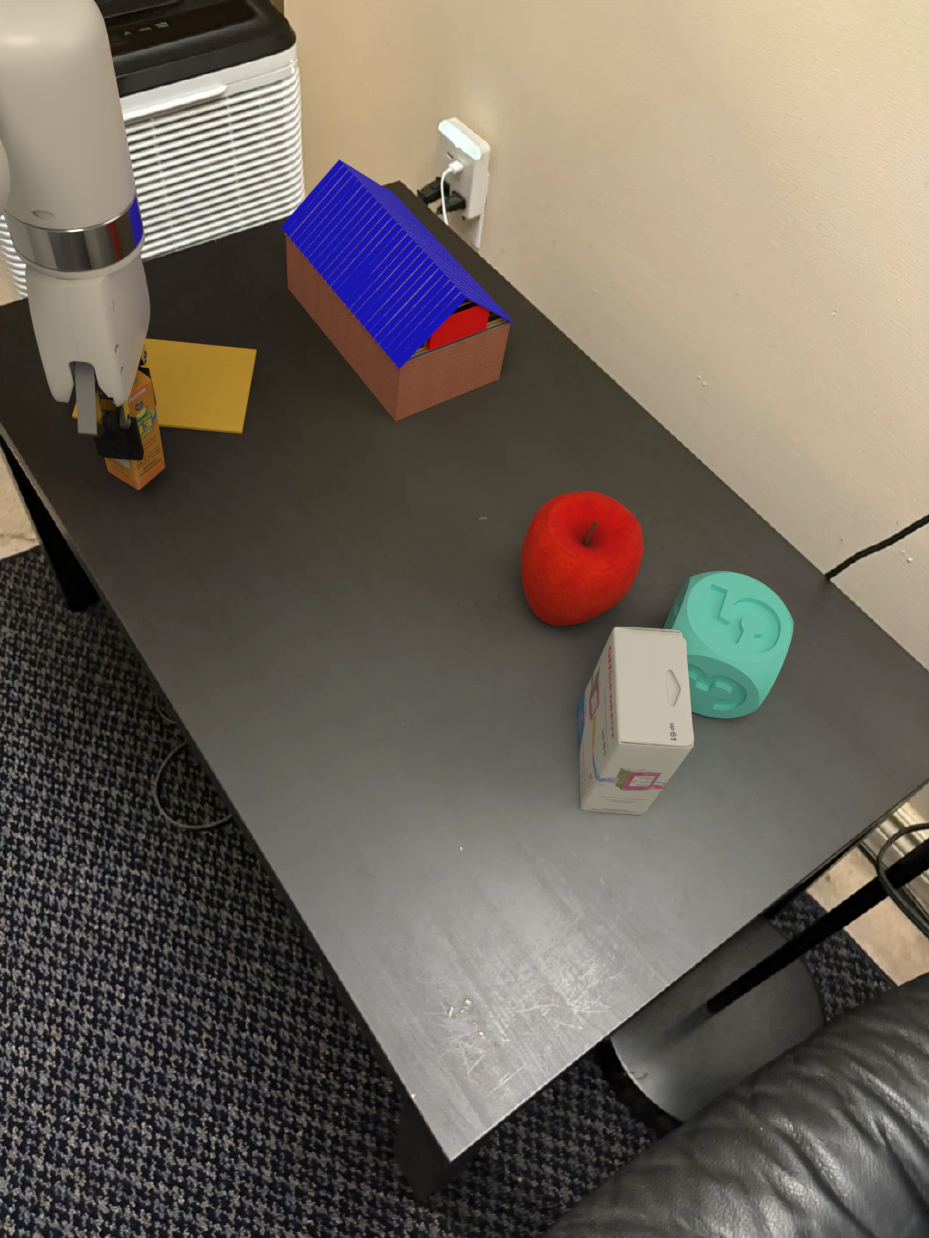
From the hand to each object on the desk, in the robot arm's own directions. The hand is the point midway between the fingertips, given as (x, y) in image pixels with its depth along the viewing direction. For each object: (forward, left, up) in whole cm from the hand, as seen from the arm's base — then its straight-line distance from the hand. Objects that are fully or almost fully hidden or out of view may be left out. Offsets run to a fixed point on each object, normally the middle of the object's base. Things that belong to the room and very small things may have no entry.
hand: (128, 429), depth 72 cm
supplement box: (0, 0, -5) cm, 5 cm away
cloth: (0, +12, -7) cm, 14 cm away
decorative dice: (+45, -13, -7) cm, 47 cm away
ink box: (+37, -21, -7) cm, 43 cm away
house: (+19, +21, -7) cm, 29 cm away
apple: (+34, -8, -7) cm, 36 cm away
